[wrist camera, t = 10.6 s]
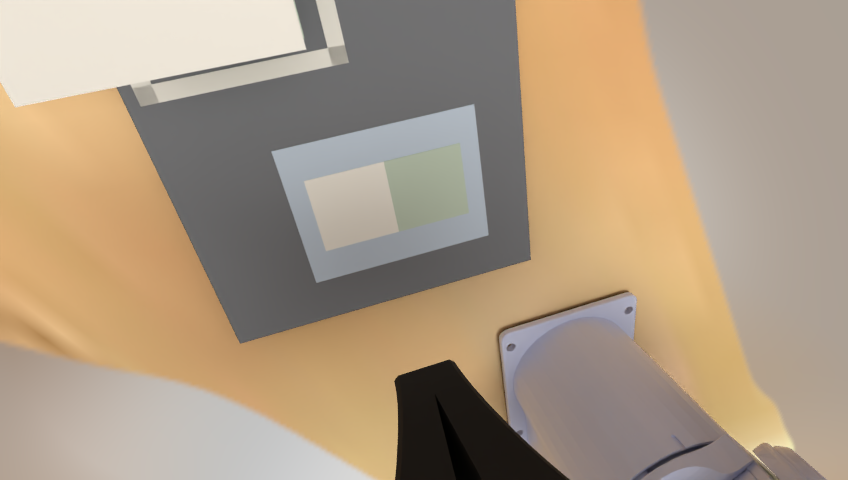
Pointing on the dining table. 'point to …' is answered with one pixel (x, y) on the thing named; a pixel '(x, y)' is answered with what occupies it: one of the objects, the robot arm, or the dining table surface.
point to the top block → (132, 41)
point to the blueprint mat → (348, 159)
